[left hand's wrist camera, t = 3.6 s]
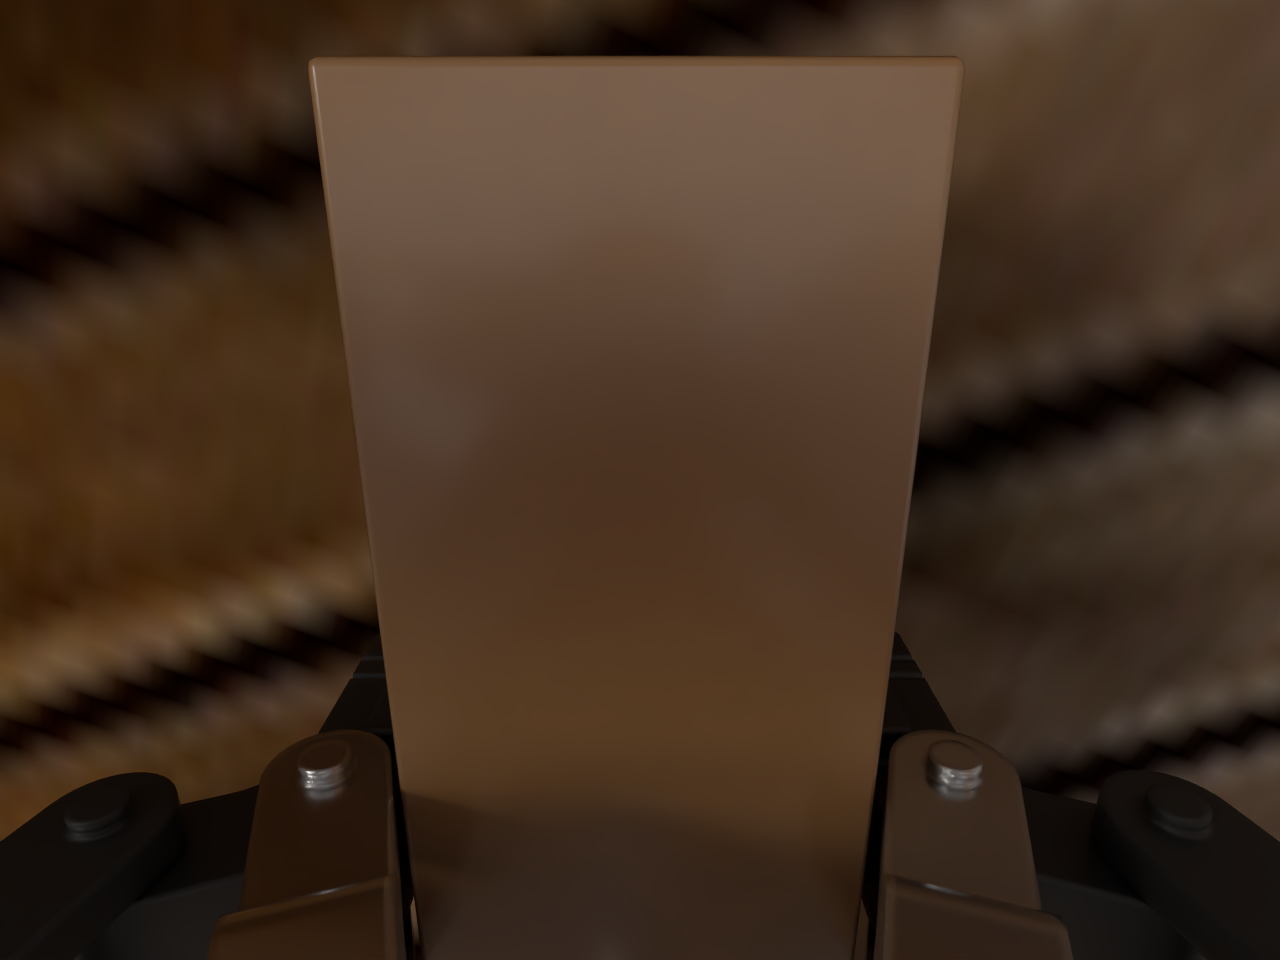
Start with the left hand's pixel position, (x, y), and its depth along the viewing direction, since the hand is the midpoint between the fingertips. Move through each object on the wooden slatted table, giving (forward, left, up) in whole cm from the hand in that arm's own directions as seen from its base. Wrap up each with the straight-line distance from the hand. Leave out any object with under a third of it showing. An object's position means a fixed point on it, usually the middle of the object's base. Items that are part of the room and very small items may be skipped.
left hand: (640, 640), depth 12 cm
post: (+21, -5, -4) cm, 22 cm away
